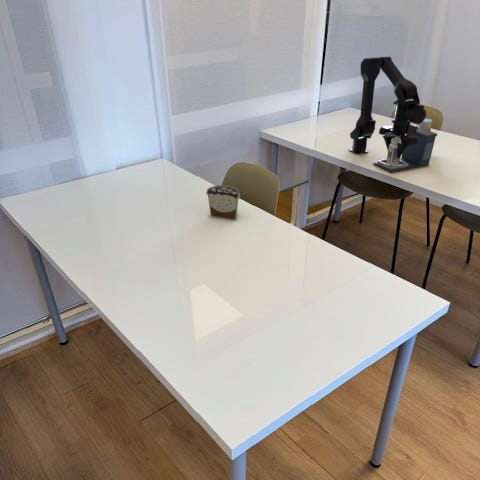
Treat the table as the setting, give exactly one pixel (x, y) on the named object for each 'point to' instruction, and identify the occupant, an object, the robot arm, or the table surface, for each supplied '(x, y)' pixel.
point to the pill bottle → (393, 152)
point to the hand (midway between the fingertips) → (394, 155)
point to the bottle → (425, 124)
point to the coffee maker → (412, 153)
